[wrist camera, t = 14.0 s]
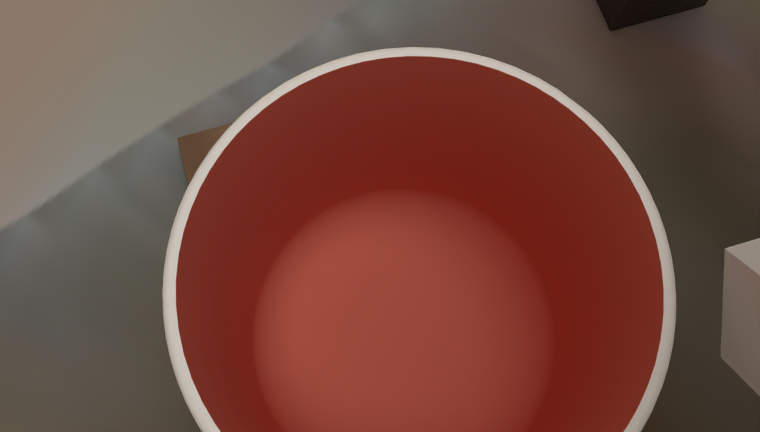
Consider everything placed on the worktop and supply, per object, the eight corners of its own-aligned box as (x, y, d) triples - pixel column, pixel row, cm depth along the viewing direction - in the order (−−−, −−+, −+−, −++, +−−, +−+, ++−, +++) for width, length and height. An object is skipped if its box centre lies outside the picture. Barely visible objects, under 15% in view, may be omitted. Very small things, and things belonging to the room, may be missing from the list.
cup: (187, 367, 23) (50, 321, 13) (374, 140, 25) (371, -37, 16) (436, 572, 21) (484, 689, 12) (611, 309, 23) (772, 225, 14)
